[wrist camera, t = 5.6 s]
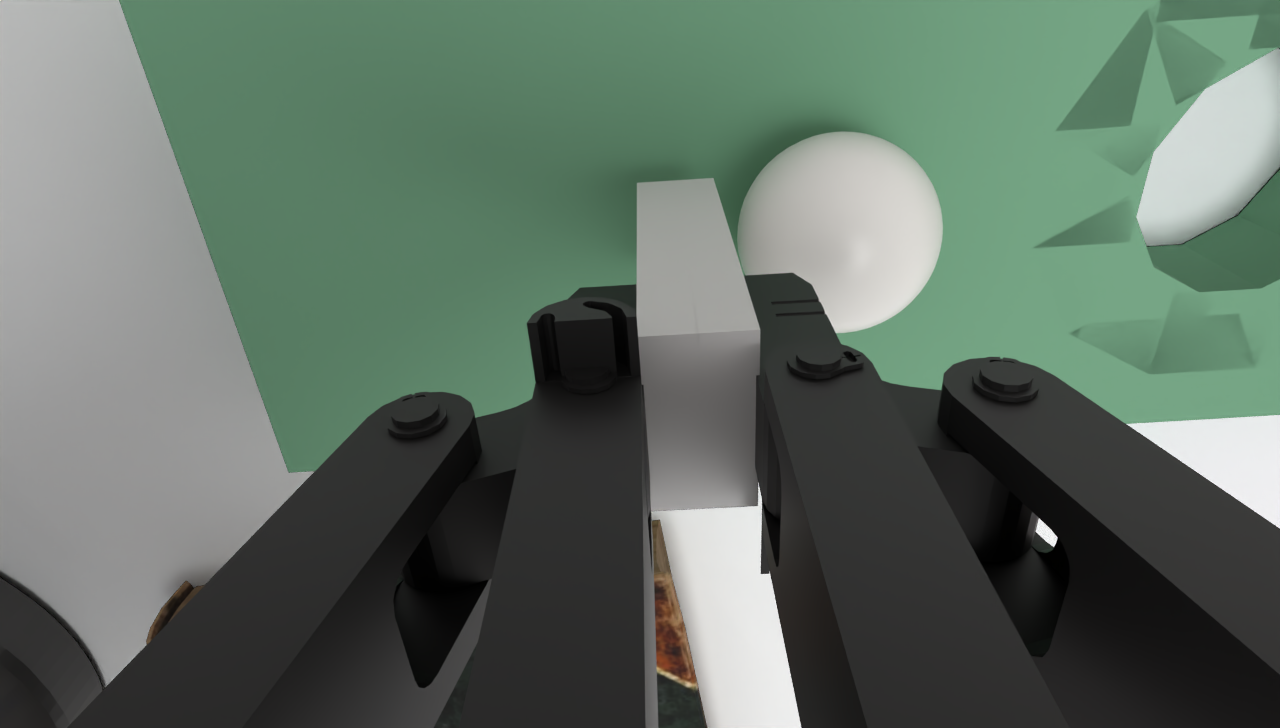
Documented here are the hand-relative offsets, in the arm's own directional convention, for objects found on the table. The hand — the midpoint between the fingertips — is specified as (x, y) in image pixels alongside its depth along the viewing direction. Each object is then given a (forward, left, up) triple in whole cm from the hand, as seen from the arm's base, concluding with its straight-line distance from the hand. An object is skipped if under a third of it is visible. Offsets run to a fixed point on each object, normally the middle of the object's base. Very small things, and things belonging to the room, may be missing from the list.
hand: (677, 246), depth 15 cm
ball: (+3, 0, 0) cm, 3 cm away
